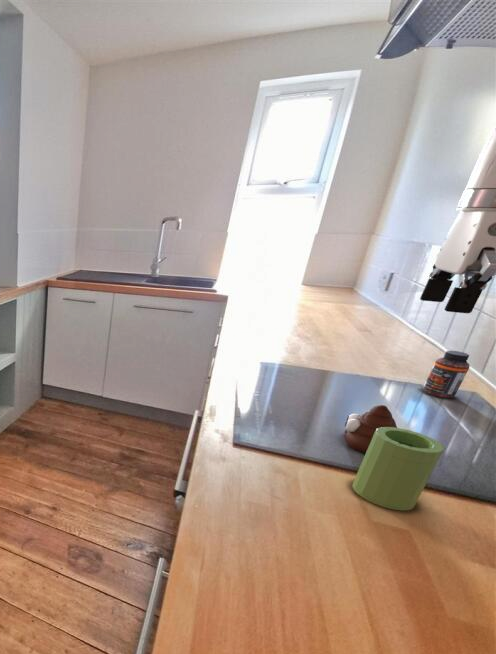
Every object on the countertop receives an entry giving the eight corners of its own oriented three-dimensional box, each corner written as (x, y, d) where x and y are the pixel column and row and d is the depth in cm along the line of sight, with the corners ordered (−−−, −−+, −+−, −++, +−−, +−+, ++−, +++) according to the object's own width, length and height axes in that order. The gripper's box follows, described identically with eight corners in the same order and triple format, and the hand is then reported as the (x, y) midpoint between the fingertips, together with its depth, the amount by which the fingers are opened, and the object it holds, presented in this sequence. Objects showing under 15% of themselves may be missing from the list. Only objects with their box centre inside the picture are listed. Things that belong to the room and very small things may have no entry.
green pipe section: (372, 477, 74) (396, 424, 70) (426, 505, 67) (456, 447, 63) (341, 485, 72) (363, 430, 68) (393, 514, 65) (422, 456, 61)
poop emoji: (393, 463, 78) (413, 419, 74) (336, 446, 84) (352, 405, 80) (395, 443, 85) (413, 402, 81) (342, 429, 90) (357, 390, 86)
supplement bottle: (415, 390, 108) (434, 350, 104) (430, 388, 110) (449, 347, 106) (445, 400, 103) (465, 357, 99) (460, 397, 105) (481, 355, 100)
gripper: (564, 202, 58) (500, 320, 65) (494, 202, 72) (448, 299, 79) (491, 201, 61) (437, 314, 68) (437, 202, 75) (397, 295, 82)
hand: (443, 306), depth 74 cm, fingers open, 9 cm apart
